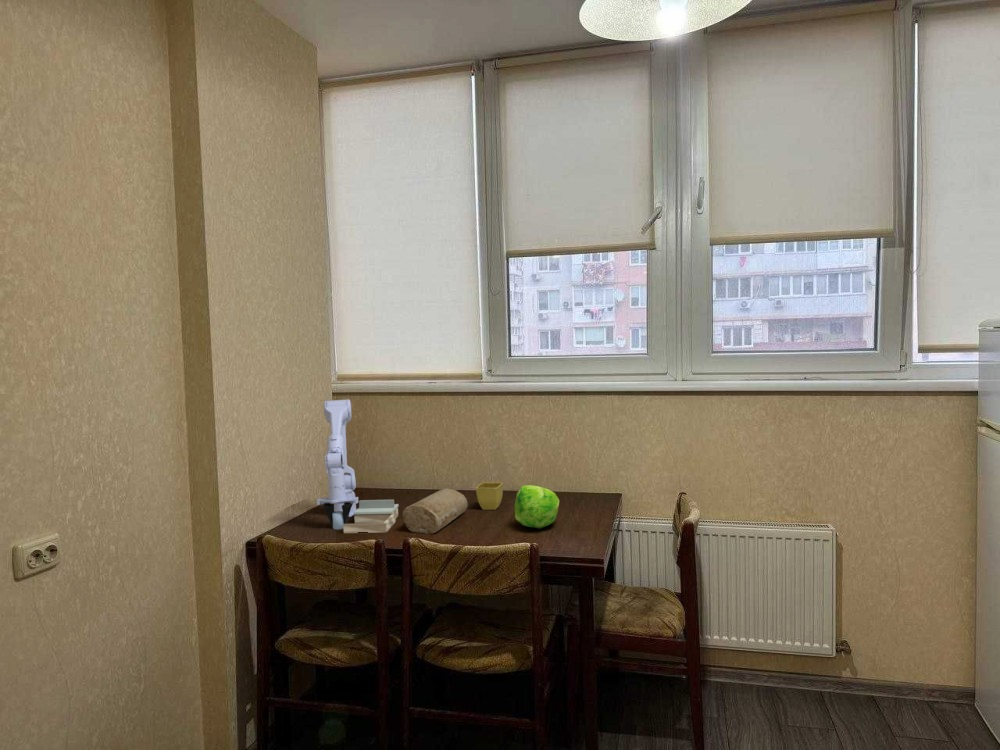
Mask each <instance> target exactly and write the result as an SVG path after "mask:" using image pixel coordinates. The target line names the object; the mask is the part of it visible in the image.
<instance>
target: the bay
mask: <svg viewBox="0 0 1000 750" xmlns="http://www.w3.org/2000/svg"><path fill="white" fill-rule="evenodd" d="M398 517H399V507H397V508H396V510H395V511H394V512H393V513H392V514H354V515H353V518H354V523H347V524H344V525H343V534H359V533H358V532H368V533H367V534H369V533H375V534H376V533H377V534H378V533H387V532H388V531H389V530H390V529H391V528H392V527H393V526H394V524H395V523H396V521H397V520H396V519H397V518H398Z"/></svg>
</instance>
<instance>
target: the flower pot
mask: <svg viewBox="0 0 1000 750" xmlns="http://www.w3.org/2000/svg"><path fill="white" fill-rule="evenodd" d="M474 488H475V493H476V494H475V495H476V499H477V502H478V504H479V506H480V507H481V509H482V510H487V511H488V510H489V511H490V510H493V511H495V510H497V508H499V507H500V505H501V502H502V499H503V496H504V494H503V491H504V482H481V483H480V484H478V485H477V486H476V487H474Z"/></svg>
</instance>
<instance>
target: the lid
mask: <svg viewBox="0 0 1000 750" xmlns="http://www.w3.org/2000/svg"><path fill="white" fill-rule="evenodd" d="M396 508H399V503H396V504H395V499H363V500H358V508H356V509H357V510H356V511H355V512H354V515H355V514H392V513H393V512H394V511H395V510H396Z"/></svg>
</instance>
